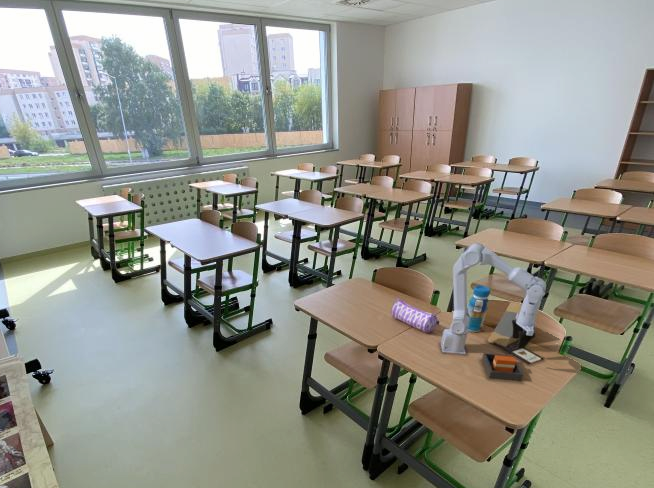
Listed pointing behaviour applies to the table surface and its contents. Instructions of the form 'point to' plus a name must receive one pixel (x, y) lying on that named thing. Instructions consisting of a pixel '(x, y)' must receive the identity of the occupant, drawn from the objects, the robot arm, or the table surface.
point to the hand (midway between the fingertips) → (518, 343)
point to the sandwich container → (506, 326)
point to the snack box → (503, 363)
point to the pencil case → (414, 316)
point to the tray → (488, 362)
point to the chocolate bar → (520, 353)
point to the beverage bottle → (478, 308)
